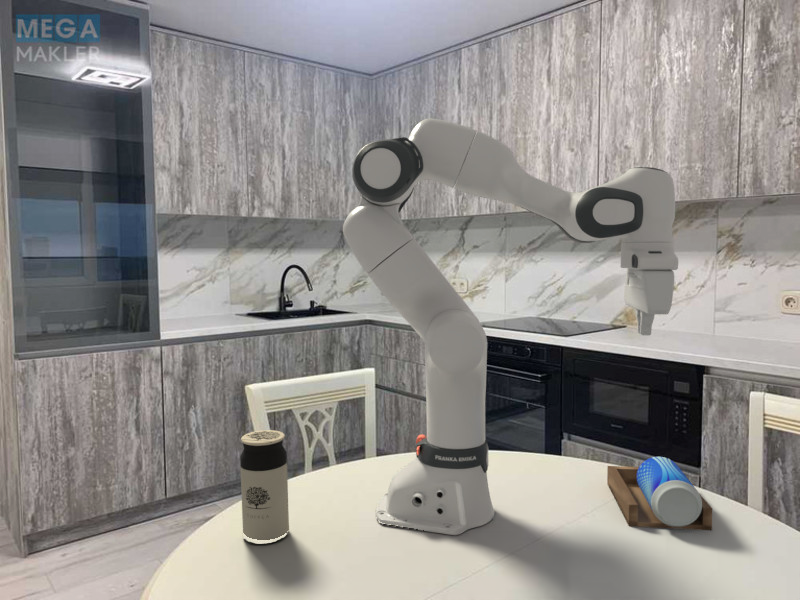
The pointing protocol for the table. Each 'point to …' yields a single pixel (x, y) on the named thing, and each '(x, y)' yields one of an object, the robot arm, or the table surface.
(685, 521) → the beer can
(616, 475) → the open box
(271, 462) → the travel mug
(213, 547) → the table surface
